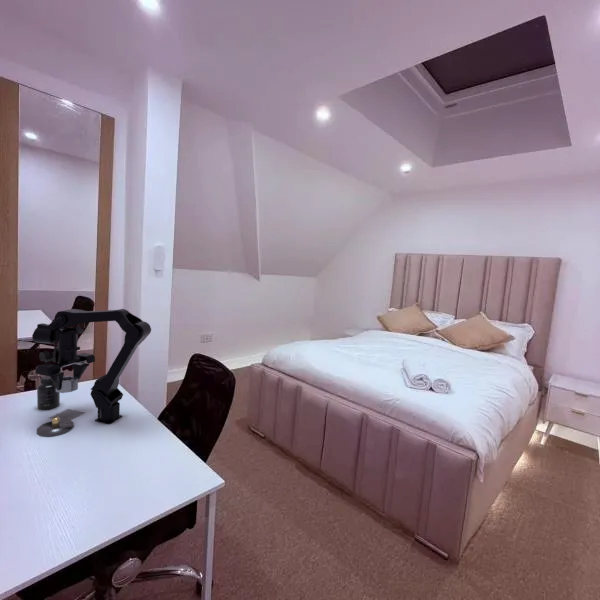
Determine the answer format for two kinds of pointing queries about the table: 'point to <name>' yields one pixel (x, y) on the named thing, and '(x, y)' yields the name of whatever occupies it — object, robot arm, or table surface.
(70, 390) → the ring
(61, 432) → the hub
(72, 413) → the stand pad
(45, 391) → the supplement bottle
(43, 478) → the table surface
